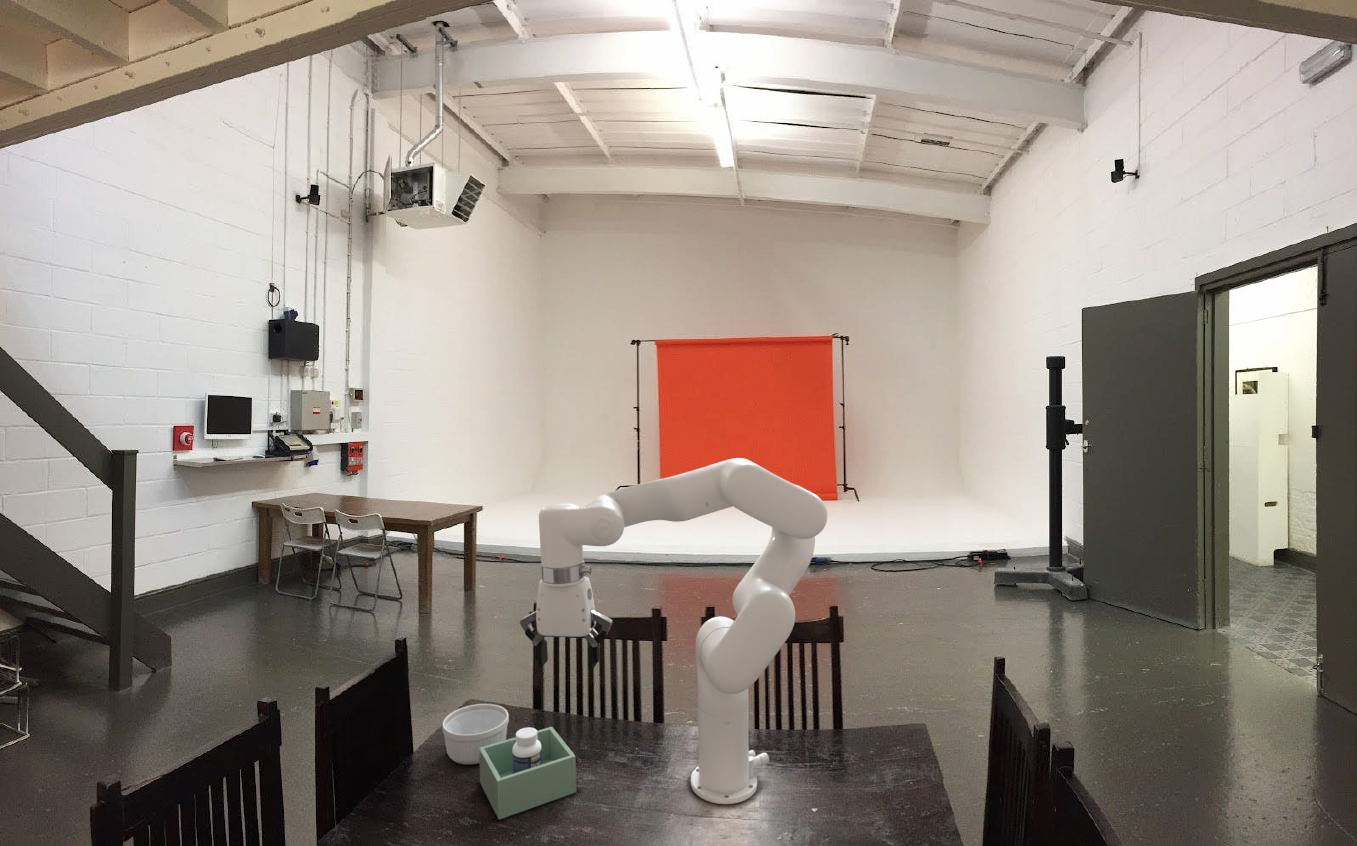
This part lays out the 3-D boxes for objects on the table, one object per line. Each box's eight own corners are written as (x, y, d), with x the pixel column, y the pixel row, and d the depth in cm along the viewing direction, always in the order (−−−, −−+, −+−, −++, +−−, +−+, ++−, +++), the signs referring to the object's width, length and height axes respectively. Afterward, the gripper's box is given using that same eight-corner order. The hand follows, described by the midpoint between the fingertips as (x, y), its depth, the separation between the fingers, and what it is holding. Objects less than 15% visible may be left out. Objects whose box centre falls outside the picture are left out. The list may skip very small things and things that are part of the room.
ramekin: (513, 731, 144) (512, 700, 143) (504, 766, 131) (503, 732, 130) (451, 736, 142) (450, 705, 142) (436, 771, 129) (435, 737, 129)
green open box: (552, 759, 133) (551, 726, 132) (576, 792, 122) (575, 755, 122) (480, 782, 125) (479, 747, 125) (498, 819, 114) (497, 781, 114)
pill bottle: (535, 792, 120) (533, 741, 120) (508, 789, 121) (506, 738, 121) (546, 775, 126) (545, 726, 125) (520, 772, 127) (519, 723, 126)
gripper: (614, 567, 120) (619, 657, 121) (526, 566, 123) (531, 655, 124) (603, 579, 113) (608, 675, 114) (509, 578, 116) (515, 672, 117)
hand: (568, 664), depth 119 cm, fingers open, 9 cm apart
